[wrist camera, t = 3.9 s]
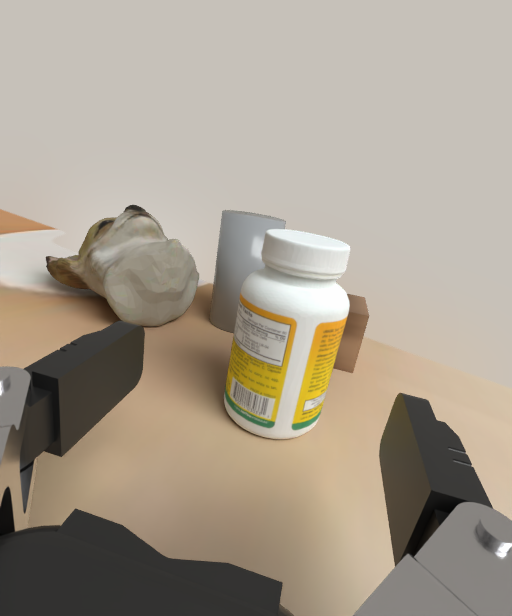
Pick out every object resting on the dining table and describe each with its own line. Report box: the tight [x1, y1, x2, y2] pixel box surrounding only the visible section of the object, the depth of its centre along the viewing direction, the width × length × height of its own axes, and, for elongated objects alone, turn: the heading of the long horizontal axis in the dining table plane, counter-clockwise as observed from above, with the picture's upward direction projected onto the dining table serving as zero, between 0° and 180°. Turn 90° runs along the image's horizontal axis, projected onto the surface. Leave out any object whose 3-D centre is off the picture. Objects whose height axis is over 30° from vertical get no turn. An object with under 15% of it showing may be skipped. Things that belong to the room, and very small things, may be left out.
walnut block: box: [333, 294, 369, 373], centre depth 27 cm, size 4×4×4 cm
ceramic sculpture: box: [46, 205, 199, 327], centre depth 29 cm, size 11×9×15 cm
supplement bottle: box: [224, 229, 350, 439], centre depth 18 cm, size 5×5×10 cm
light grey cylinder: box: [209, 210, 286, 333], centre depth 29 cm, size 5×5×9 cm
